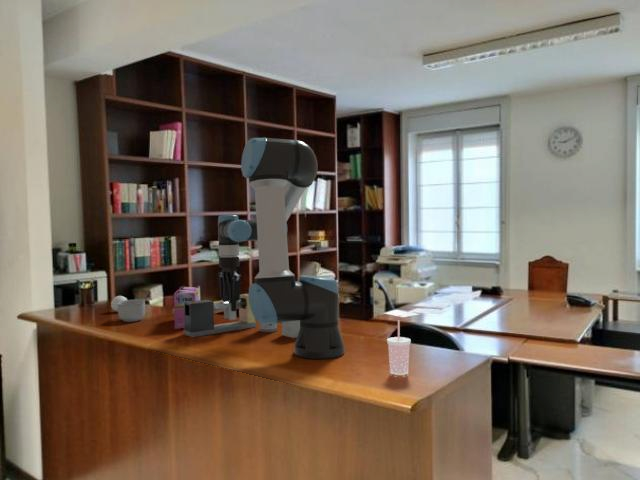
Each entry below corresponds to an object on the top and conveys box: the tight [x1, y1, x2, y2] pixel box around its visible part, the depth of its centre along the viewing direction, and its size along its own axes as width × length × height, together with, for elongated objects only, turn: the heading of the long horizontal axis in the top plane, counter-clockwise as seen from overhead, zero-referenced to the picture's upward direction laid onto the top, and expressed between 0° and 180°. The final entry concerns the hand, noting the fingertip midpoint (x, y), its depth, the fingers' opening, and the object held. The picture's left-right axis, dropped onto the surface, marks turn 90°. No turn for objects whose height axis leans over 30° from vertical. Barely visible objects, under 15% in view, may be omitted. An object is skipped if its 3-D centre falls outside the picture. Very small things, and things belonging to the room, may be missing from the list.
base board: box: [183, 321, 257, 338], centre depth 189 cm, size 26×7×2 cm, turn 129°
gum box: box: [173, 285, 201, 330], centre depth 205 cm, size 24×8×14 cm, turn 8°
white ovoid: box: [110, 295, 128, 313], centre depth 230 cm, size 10×7×7 cm
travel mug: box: [259, 323, 278, 334], centre depth 187 cm, size 6×7×20 cm
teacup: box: [117, 298, 146, 323], centre depth 212 cm, size 14×11×8 cm
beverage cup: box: [386, 319, 412, 375], centre depth 133 cm, size 6×6×14 cm
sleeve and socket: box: [184, 293, 256, 332], centre depth 189 cm, size 26×6×10 cm, turn 129°
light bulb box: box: [281, 320, 300, 339], centre depth 181 cm, size 11×7×11 cm, turn 135°
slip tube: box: [214, 299, 246, 312], centre depth 190 cm, size 17×3×3 cm, turn 129°
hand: (230, 318), depth 192 cm, fingers closed on slip tube, 3 cm apart
